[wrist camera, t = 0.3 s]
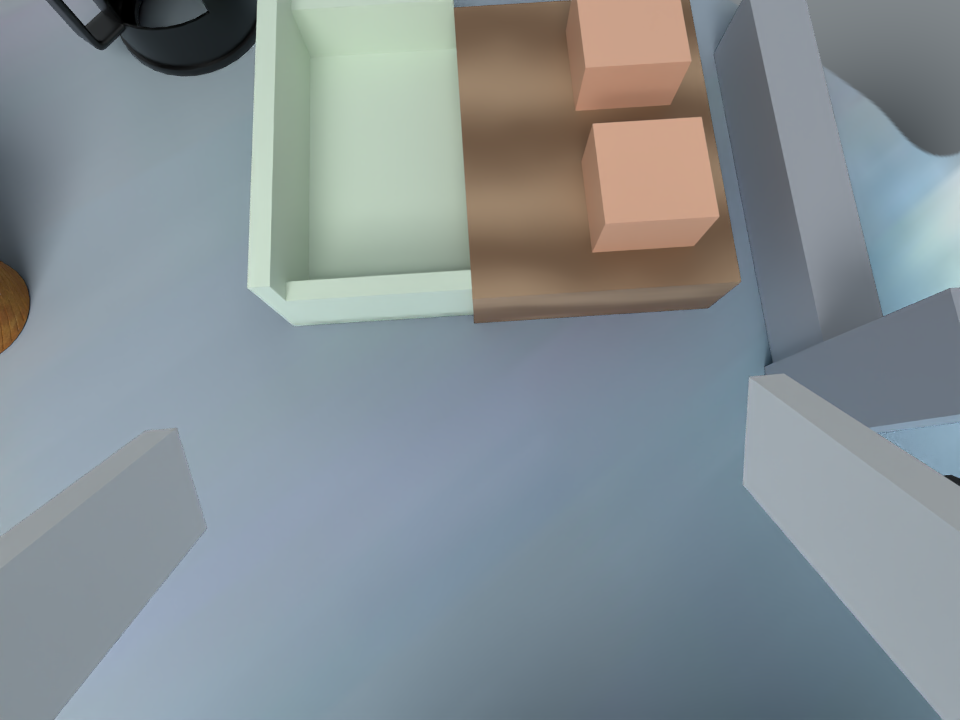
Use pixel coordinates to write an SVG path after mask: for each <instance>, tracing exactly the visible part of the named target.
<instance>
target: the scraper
mask: <svg viewBox="0 0 960 720" xmlns="http://www.w3.org/2000/svg"><path fill="white" fill-rule="evenodd" d="M714 58H715V63H716V69H717V74H718V79H719V84H720V90H721V95H722V100H723V105H724V110H725V116H726V121H727V126H728V131H729V137H730V142H731V147H732V152H733V158H734V163H735V168H736V173H737V178H738V184H739V189H740V194H741V199H742V205H743V210H744V215H745V220H746V226H747V231H748V236H749V241H750V246H751V252H752V257H753V262H754V267H755V273H756V278H757V283H758V288H759V294H760V299H761V304H762V309H763V314H764V320H765V325H766V330H767V335H768V341H769V346H770V351H771V356H772V362H773V363H772V364H770V365H768V366H765V367H764V368H765V374H766V375H773V374H785V375H787V376H789V377H790V378H792V379H793V380H795V381H796V382H798V383H799V384H801V385H803V386H804V387H806V388H807V389H809V390H810V391H812V392H813V393H815V394H817V395H818V396H820V397H821V398H823V399H824V400H826V401H828V402H829V403H831V404H832V405H834V406H835V407H837V408H838V409H840V410H842V411H843V412H845V413H846V414H848V415H849V416H851V417H852V418H854V419H856V420H857V421H859V422H860V423H862V424H863V425H865V426H866V427H868V428H870V429H871V430H873V431H874V432H876V433H883V432H891V431H898V430H906V429H913V428H921V427H929V426H936V425H944V424H951V423H959V422H960V288H949V289H947V290H945V291H942V292H940V293H937V294H935V295H933V296H930V297H928V298H926V299H923V300H921V301H919V302H916V303H914V304H911V305H909V306H907V307H904V308H902V309H900V310H897V311H895V312H893V313H890V314H888V315H886V316H883V314H882V310H881V306H880V302H879V298H878V293H877V289H876V285H875V281H874V277H873V273H872V269H871V265H870V261H869V256H868V252H867V248H866V244H865V240H864V236H863V232H862V228H861V224H860V219H859V215H858V211H857V207H856V203H855V199H854V195H853V191H852V187H851V182H850V178H849V174H848V170H847V166H846V162H845V158H844V154H843V150H842V145H841V141H840V137H839V133H838V129H837V125H836V121H835V117H834V113H833V108H832V104H831V100H830V96H829V92H828V88H827V84H826V80H825V76H824V71H823V67H822V63H821V60H820V55H819V51H818V47H817V43H816V39H815V35H814V31H813V27H812V22H811V18H810V14H809V10H808V6H807V2H806V0H742V2H741V3H740V5H739V7H738V9H737V11H736V13H735V15H734V17H733V18H732V20H731V22H730V24H729V26H728V28H727V30H726V32H725V34H724V35H723V37H722V39H721V41H720V43H719V45H718V47H717V49H716V51H715V52H714Z"/></svg>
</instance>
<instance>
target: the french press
mask: <svg viewBox="0 0 960 720" xmlns="http://www.w3.org/2000/svg"><path fill="white" fill-rule="evenodd" d="M46 1H47V2H48V3H49V4H50V5H51V6H52V7H53V9H54V10H55V11H56V12H57V13H58V14H59V15H60V16H61V17H62V18H63V20H64V21H65V22H66V23H67V24H68V25H69V26H70V27H71V28H72V29H73V31H74V32H75V33H76V34H77V35H79V36H80V37H81V38H83V39H84V40H85V41H87V42H88V43H90V44H91V45H93V46H94V47H95V48H97V49H99V50H104V49H106V48H107V47H108V46H109V45H110V44H111V43H112V42H113V41H114V40H115V39H116V38H117V37H118V36H121V38H122V41H123V43H124V44H125V45H126V47H127V48H128V50H129V51H130V52H131V54H132V55H133V56H134V57H136V58H137V59H138V60H139V61H140V62H141V63H143V64H144V65H146V66H148V67H150V68H151V69H153V70H155V71H159V72H162V73H165V74H168V75H177V76H195V75H201V74H205V73H210V72H213V71H216V70H218V69H221V68H223V67H226V66H227V65H229V64H231V63H232V62H234V61H236V60H237V59H239V58H240V57H241V56H242V55H243V54H244V53H246V52H247V51H248V50H249V49H250V47H251V46H252V45H253V44H254V43H255V41H256V24H257V0H202V2H203V3H204V5H205V7H206V9H207V10H208V11H207V12H205V13H204V14H202V15H200V16H199V17H197V18H195V19H192V20H190V21H187V22H185V23H182V24H178V25H173V26H169V27H156V28H149V27H141V26H139V20H138V14H139V8H140V5H141V2H142V0H93V1H94V2H95V3H96V5H97V6H98V7H99V8H100V10H101V12H100V13H99V14H98V15H97V16H96V17H94V18H93V19H92V20H91V21H90V22H89V23H88V24H87V25H86V26H84V25H83V23H82V22H81V21H80V20H79V19H78V18H77V17H76V15H75V14H74V13H73V12H72V11H71V10H70V9H69V7H68V6H67V5H66V4H65V3H64V2H63V1H62V0H46Z"/></svg>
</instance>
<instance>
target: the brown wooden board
mask: <svg viewBox="0 0 960 720" xmlns="http://www.w3.org/2000/svg"><path fill="white" fill-rule="evenodd" d="M570 4H571V0H569V1H553V2H536V3H520V4H504V5H487V6H471V7H455V8H454V19H455V35H456V50H457V66H458V81H459V97H460V113H461V128H462V144H463V159H464V175H465V190H466V206H467V221H468V237H469V253H470V268H471V284H472V299H473V314H474V323H486V322H501V321H517V320H532V319H548V318H563V317H579V316H594V315H610V314H626V313H641V312H657V311H672V310H688V309H703V308H709V307H710V306H711V305H713V304H714V303H715V302H716V301H718V300H719V299H720V298H722V297H723V296H724V295H725V294H727V293H728V292H729V291H730V290H732V289H733V288H734V287H735V286H737V285H738V284H739V283H740V282H741V277H740V272H739V266H738V261H737V256H736V250H735V245H734V239H733V234H732V228H731V223H730V218H729V212H728V207H727V201H726V196H725V190H724V185H723V179H722V174H721V169H720V163H719V158H718V152H717V147H716V141H715V136H714V131H713V125H712V120H711V114H710V109H709V103H708V98H707V93H706V87H705V82H704V76H703V71H702V65H701V60H700V54H699V49H698V44H697V38H696V33H695V27H694V22H693V16H692V11H691V6H690V0H681V5H682V10H683V16H684V22H685V27H686V33H687V38H688V44H689V49H690V55H691V64H690V66H689V68H688V70H687V72H686V74H685V76H684V78H683V80H682V82H681V84H680V86H679V88H678V90H677V92H676V94H675V96H674V98H673V101H672V103H671V105H661V106H645V107H629V108H613V109H597V110H581V111H575V105H574V96H573V88H572V80H571V71H570V63H569V55H568V46H567V38H566V27H567V21H568V15H569V10H570ZM691 117H702V122H703V127H704V133H705V139H706V144H707V150H708V155H709V161H710V166H711V172H712V178H713V183H714V189H715V194H716V200H717V205H718V211H719V218H718V219H717V220H716V221H715V222H714V223H713V225H712V226H711V227H710V228H709V229H708V230H707V231H706V233H705V234H704V235H703V236H702V237H701V238H700V239H699V241H698V242H697V243H696V244H695V245H694V246H688V247H672V248H656V249H641V250H625V251H609V252H594V253H592V247H591V239H590V231H589V222H588V214H587V205H586V197H585V189H584V180H583V172H582V163H581V161H582V158H583V154H584V151H585V148H586V144H587V141H588V138H589V134H590V131H591V128H592V124H595V123H611V122H627V121H643V120H659V119H675V118H691Z"/></svg>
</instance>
